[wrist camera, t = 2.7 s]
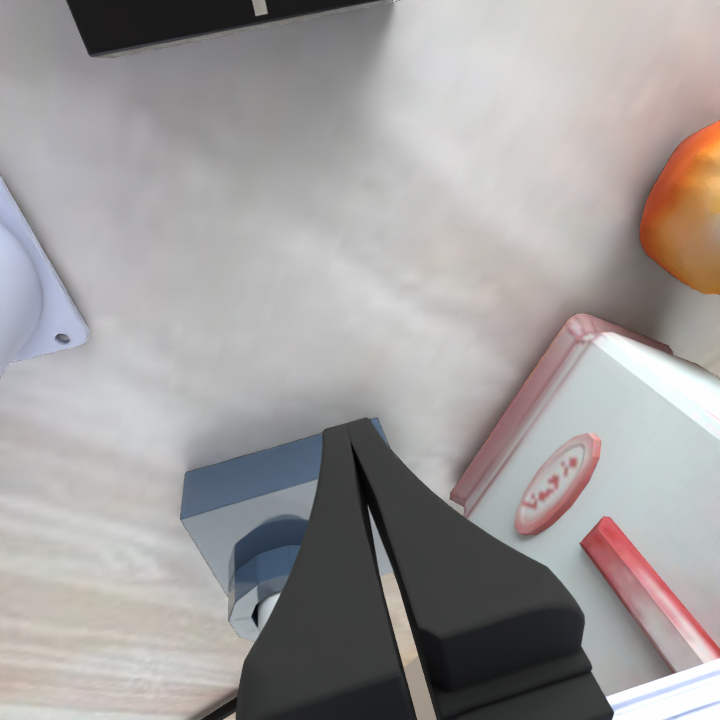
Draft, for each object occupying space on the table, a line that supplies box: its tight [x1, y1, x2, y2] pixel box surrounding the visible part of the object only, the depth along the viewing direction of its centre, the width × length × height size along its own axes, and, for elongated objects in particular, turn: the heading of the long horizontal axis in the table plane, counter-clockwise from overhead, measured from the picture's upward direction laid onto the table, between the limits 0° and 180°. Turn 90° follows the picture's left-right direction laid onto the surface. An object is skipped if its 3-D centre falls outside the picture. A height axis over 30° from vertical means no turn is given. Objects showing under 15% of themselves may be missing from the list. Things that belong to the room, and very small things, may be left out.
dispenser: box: [180, 418, 393, 642], centre depth 27 cm, size 11×11×5 cm
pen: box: [201, 696, 238, 720], centre depth 39 cm, size 1×19×1 cm, turn 125°
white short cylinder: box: [257, 590, 282, 634], centre depth 26 cm, size 4×4×2 cm
